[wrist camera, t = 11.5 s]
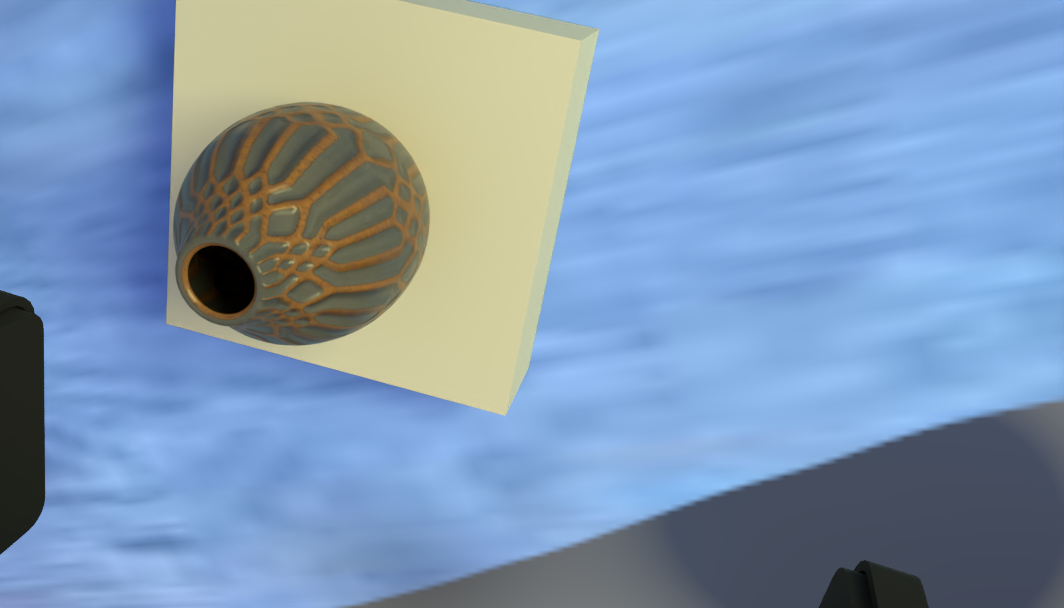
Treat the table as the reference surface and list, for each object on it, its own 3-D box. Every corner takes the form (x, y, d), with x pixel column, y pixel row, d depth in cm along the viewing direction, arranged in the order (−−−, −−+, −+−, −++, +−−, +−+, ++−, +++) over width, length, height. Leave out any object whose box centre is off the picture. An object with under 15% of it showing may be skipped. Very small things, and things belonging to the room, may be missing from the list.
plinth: (240, -49, 32) (177, -49, 29) (599, 29, 31) (581, 40, 27) (221, 286, 37) (166, 323, 34) (528, 367, 36) (505, 415, 32)
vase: (287, 300, 32) (141, 417, 24) (232, 104, 30) (51, 161, 22) (472, 280, 31) (381, 399, 23) (429, 71, 28) (311, 121, 20)
